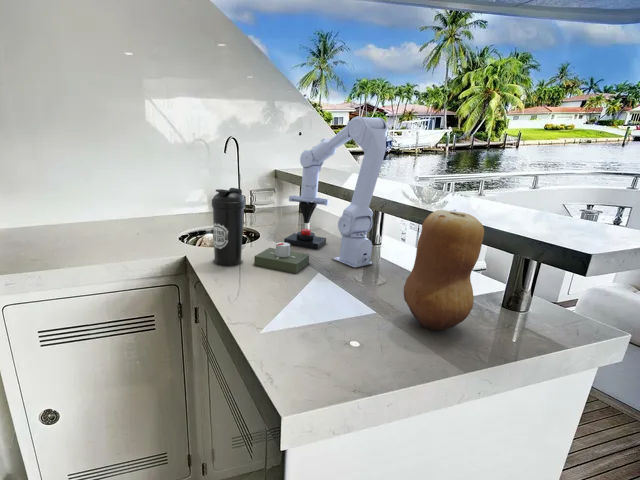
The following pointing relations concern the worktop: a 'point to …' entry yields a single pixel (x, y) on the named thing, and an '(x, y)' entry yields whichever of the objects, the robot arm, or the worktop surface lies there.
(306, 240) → the button housing
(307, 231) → the button
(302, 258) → the dial panel
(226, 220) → the water bottle
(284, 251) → the knob
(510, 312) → the worktop surface
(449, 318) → the butternut squash
